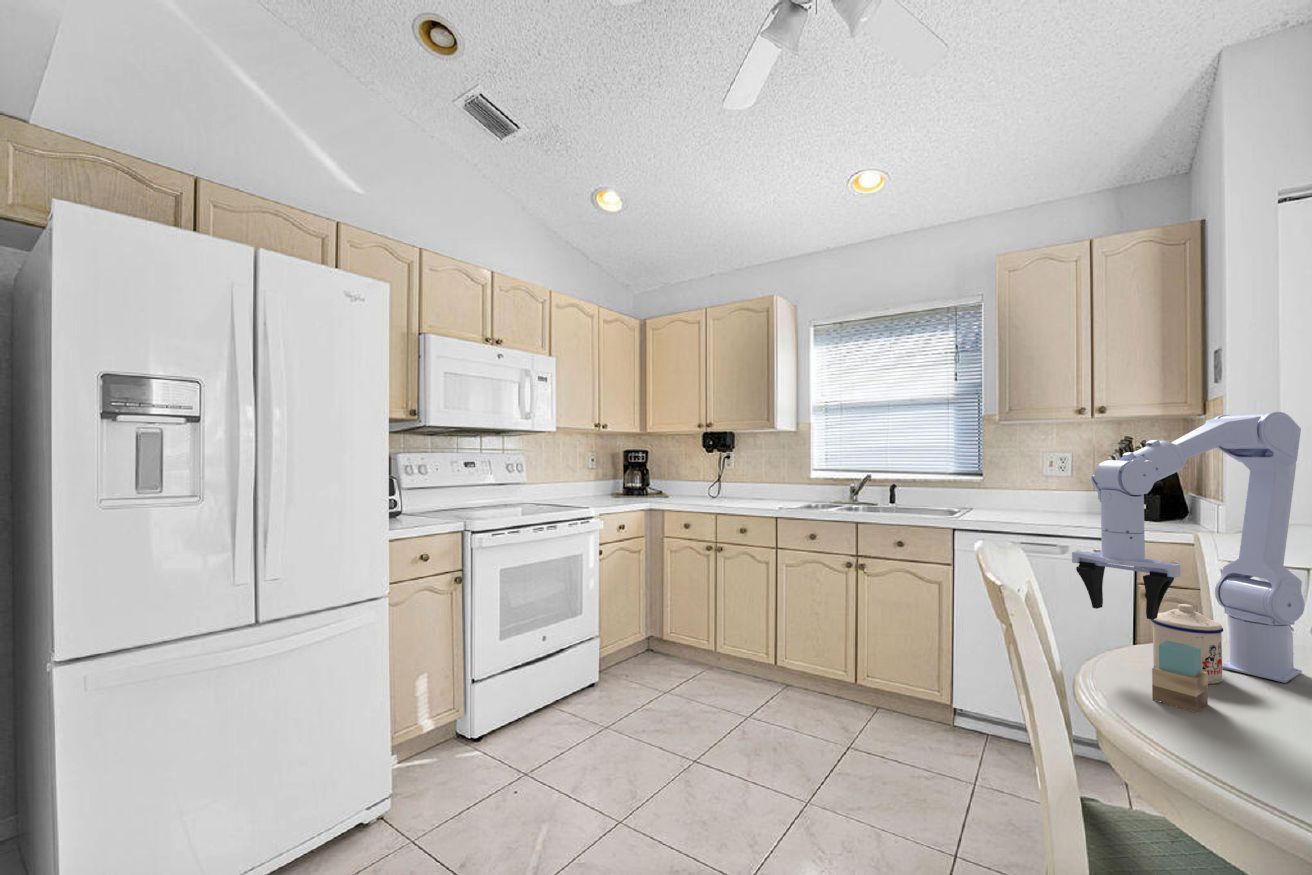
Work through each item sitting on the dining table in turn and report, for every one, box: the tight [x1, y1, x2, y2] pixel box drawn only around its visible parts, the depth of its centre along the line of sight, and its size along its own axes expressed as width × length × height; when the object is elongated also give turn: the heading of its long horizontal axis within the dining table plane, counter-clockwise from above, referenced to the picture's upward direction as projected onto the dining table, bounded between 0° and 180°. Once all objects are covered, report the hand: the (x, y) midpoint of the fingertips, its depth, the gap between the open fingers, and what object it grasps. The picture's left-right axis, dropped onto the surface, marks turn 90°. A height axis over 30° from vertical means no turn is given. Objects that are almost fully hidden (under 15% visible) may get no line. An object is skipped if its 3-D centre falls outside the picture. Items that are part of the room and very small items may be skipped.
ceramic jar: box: [1150, 603, 1224, 685], centre depth 100 cm, size 12×9×12 cm
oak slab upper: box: [1151, 665, 1209, 697], centre depth 88 cm, size 5×5×2 cm
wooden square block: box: [1151, 685, 1209, 713], centre depth 88 cm, size 5×5×2 cm
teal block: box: [1159, 640, 1201, 677], centre depth 88 cm, size 4×4×4 cm
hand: (1123, 612), depth 99 cm, fingers open, 7 cm apart
